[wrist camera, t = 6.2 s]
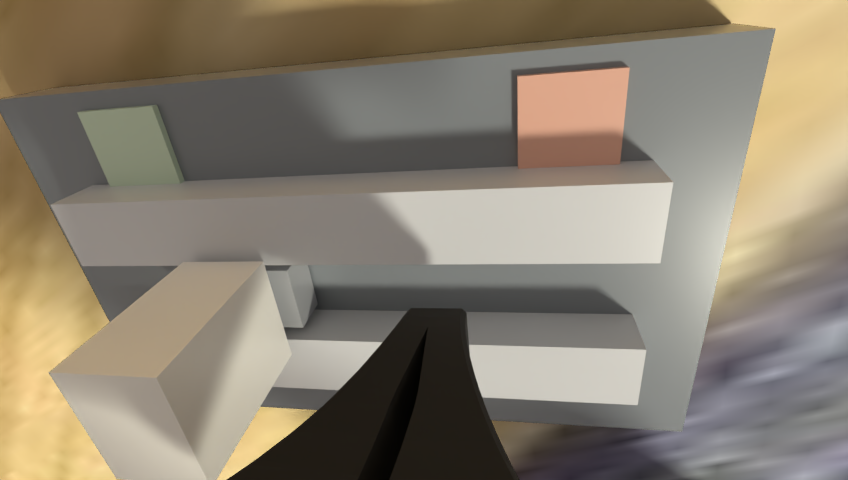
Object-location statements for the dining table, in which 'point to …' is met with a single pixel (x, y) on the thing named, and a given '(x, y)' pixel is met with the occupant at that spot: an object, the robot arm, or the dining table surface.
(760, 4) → the dining table surface
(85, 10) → the dining table surface
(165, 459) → the lever
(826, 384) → the dining table surface
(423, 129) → the panel
